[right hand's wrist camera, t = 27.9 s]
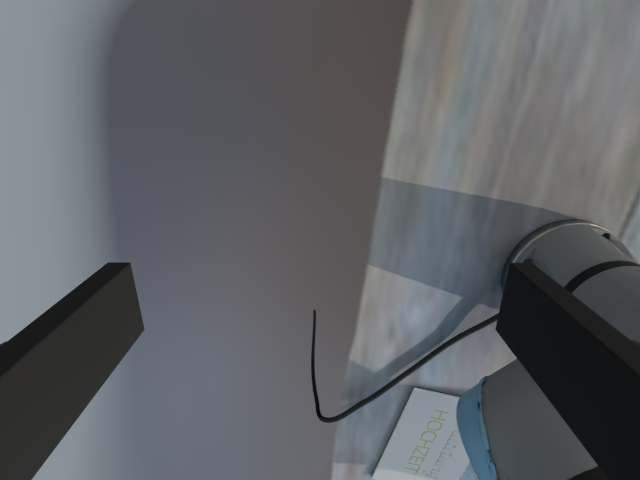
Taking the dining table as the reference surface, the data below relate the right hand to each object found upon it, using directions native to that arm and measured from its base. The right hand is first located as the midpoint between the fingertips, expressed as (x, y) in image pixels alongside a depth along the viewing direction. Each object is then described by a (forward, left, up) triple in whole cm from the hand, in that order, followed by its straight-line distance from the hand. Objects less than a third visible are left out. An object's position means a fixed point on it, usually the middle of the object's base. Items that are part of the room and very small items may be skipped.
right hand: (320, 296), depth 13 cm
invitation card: (0, -52, -33) cm, 61 cm away
